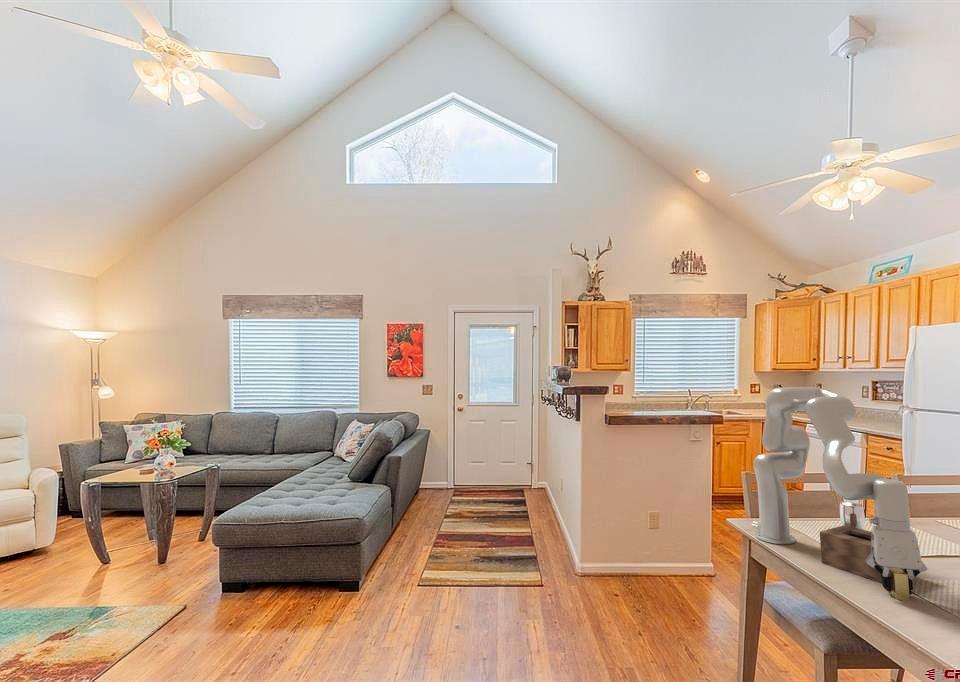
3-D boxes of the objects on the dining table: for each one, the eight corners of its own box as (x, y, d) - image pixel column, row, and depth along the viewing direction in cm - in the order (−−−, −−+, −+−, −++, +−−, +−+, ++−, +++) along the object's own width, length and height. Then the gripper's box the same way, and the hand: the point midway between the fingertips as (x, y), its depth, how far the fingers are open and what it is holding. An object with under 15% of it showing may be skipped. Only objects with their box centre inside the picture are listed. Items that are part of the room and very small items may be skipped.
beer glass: (861, 544, 172) (858, 502, 173) (871, 551, 165) (867, 507, 166) (838, 543, 174) (835, 501, 175) (847, 550, 167) (844, 506, 168)
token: (886, 590, 137) (884, 564, 138) (899, 591, 136) (897, 566, 137) (896, 599, 132) (894, 573, 132) (909, 601, 131) (907, 574, 131)
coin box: (821, 562, 157) (819, 531, 158) (846, 555, 163) (844, 525, 163) (886, 584, 141) (884, 549, 141) (912, 575, 146) (909, 541, 147)
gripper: (861, 525, 135) (866, 592, 133) (937, 531, 129) (942, 601, 128) (851, 517, 142) (856, 581, 140) (923, 523, 136) (928, 589, 135)
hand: (897, 590), depth 134 cm, fingers open, 3 cm apart
